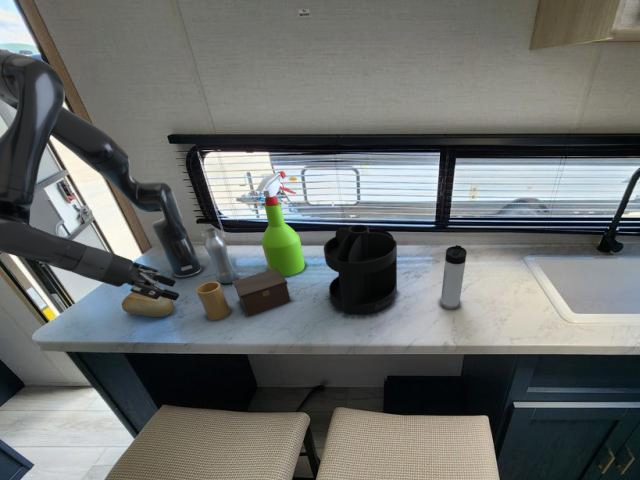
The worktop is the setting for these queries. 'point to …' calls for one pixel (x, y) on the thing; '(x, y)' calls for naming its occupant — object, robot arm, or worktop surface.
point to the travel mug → (453, 276)
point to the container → (362, 269)
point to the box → (262, 291)
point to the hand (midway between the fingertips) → (176, 290)
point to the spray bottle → (279, 231)
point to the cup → (213, 300)
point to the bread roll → (147, 305)
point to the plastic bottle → (219, 256)
